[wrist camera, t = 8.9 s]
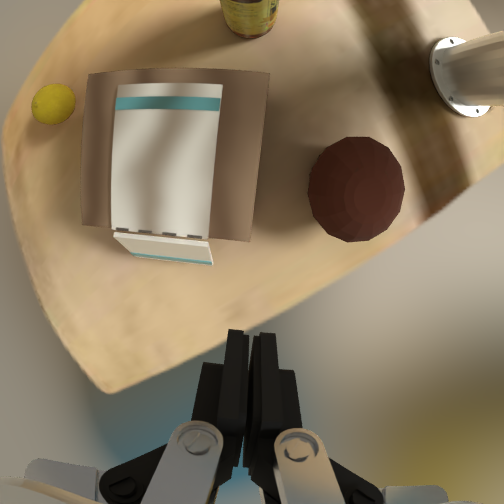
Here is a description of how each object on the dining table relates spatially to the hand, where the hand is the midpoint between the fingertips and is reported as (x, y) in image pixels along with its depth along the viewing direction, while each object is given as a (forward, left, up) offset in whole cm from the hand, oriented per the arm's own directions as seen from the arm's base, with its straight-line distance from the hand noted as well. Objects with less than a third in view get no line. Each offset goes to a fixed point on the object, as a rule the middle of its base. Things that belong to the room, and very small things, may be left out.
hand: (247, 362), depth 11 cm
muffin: (-11, -4, -29) cm, 32 cm away
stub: (+9, +5, -22) cm, 25 cm away
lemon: (+27, -12, -29) cm, 42 cm away
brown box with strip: (+9, -6, -29) cm, 31 cm away
